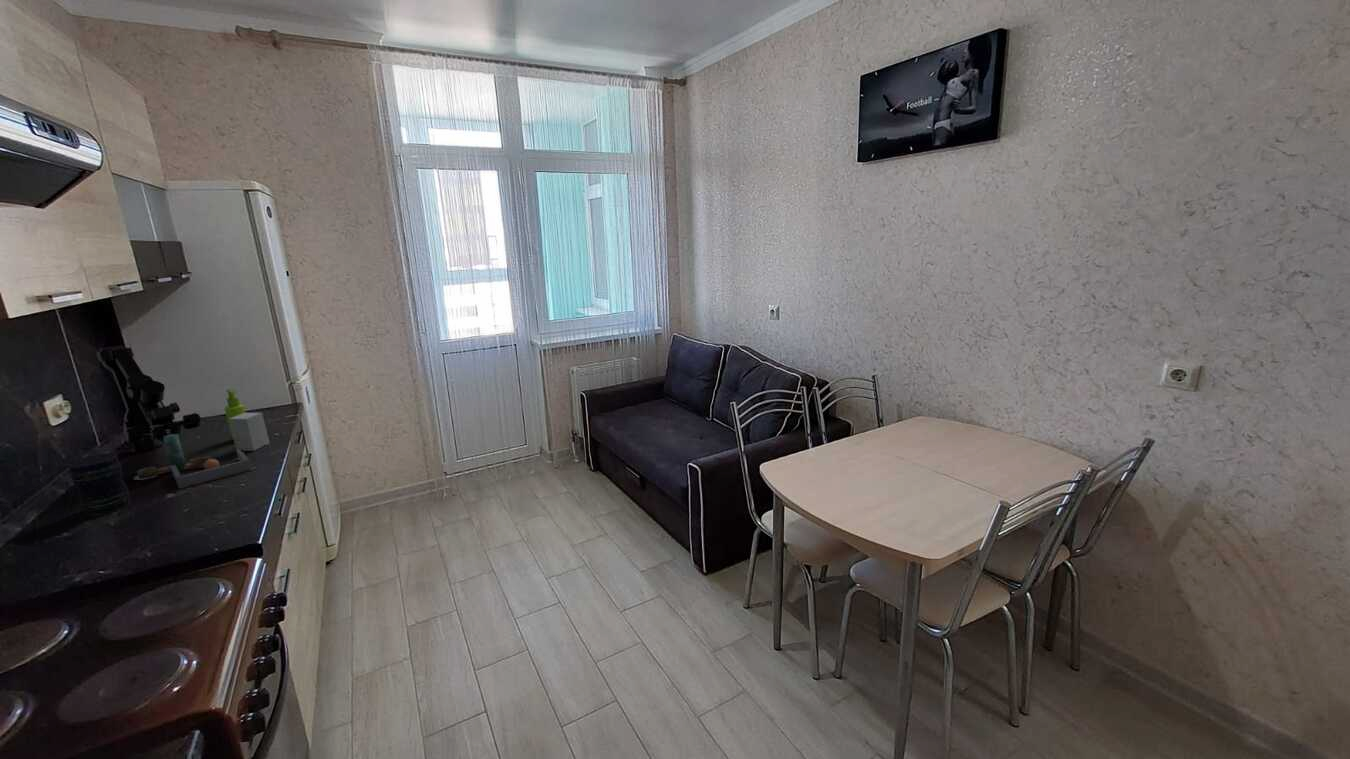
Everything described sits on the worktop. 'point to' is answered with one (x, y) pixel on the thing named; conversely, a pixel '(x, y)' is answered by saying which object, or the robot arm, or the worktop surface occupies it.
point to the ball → (211, 464)
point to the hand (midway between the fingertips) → (175, 447)
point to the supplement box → (249, 431)
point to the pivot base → (146, 477)
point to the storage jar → (99, 483)
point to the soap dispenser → (233, 406)
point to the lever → (173, 459)
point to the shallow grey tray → (212, 472)
